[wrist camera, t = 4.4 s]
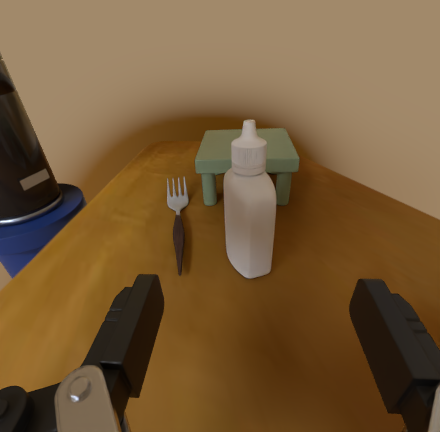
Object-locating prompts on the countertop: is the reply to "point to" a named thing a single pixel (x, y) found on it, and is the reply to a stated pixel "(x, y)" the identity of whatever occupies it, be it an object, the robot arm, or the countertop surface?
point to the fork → (178, 220)
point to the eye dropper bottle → (249, 205)
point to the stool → (222, 160)
